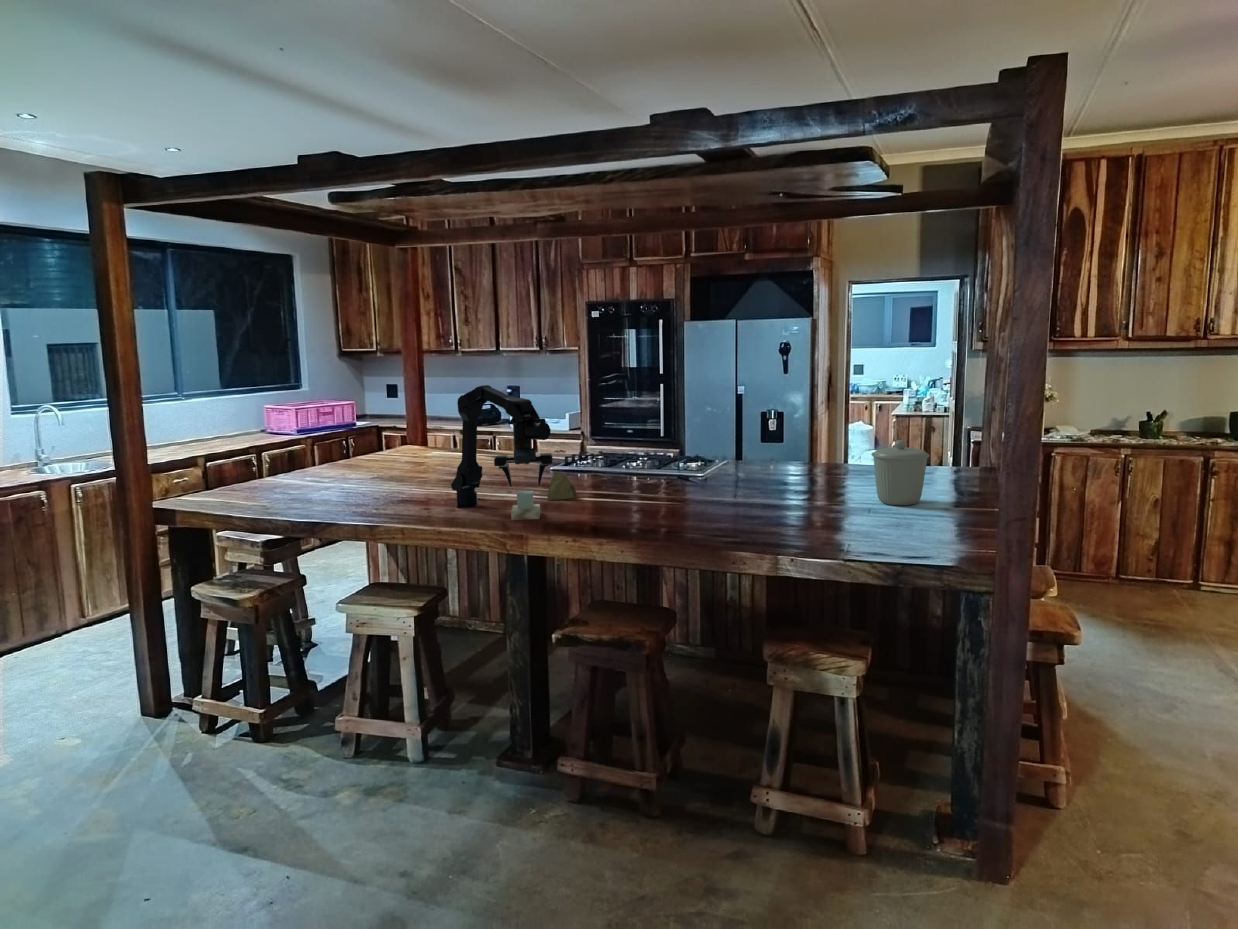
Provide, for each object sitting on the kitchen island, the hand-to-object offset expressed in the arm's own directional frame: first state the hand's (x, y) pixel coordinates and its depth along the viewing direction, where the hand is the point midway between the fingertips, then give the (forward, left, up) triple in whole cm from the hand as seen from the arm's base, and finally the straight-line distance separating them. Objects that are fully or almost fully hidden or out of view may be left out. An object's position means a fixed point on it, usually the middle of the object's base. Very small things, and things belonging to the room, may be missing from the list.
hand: (525, 485), depth 265 cm
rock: (+12, +27, -11) cm, 31 cm away
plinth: (0, 0, -10) cm, 10 cm away
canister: (+124, -4, -11) cm, 124 cm away
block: (0, 0, -7) cm, 7 cm away
